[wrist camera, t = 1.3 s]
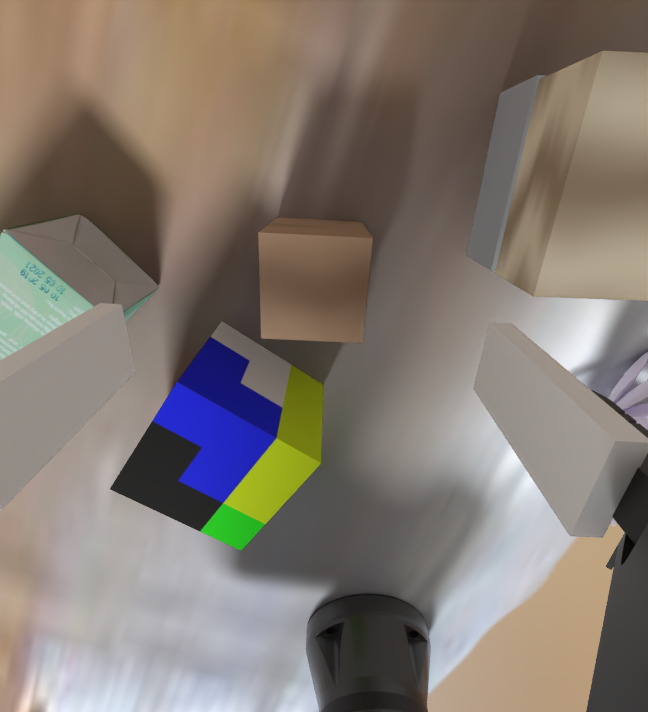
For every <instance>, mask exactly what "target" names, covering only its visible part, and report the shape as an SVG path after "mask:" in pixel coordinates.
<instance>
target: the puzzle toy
mask: <svg viewBox="0 0 648 712" xmlns="http://www.w3.org/2000/svg"><path fill="white" fill-rule="evenodd" d="M322 417H323V384H321V383H320V382H318V381H317V380H315V379H313V378H312V377H310V376H309V375H307V374H305V373H304V372H302V371H301V370H299V369H297V368H296V367H294V366H293V365H291V364H289V363H288V362H286V361H285V360H283V359H281V358H280V357H278V356H277V355H275V354H274V353H272V352H270V351H269V350H267V349H266V348H264V347H262V346H261V345H259V344H258V343H256V342H254V341H253V340H251V339H250V338H248V337H246V336H245V335H243V334H242V333H240V332H238V331H237V330H235V329H234V328H232V327H230V326H229V325H227V324H226V323H224V322H221V323H220V324H219V326H218V327H217V328H216V330H215V331H214V332H213V334H212V335H211V336H210V338H209V339H208V341H207V342H206V343H205V345H204V346H203V347H202V349H201V350H200V351H199V353H198V354H197V355H196V357H195V358H194V359H193V361H192V362H191V364H190V365H189V366H188V368H187V369H186V370H185V372H184V373H183V374H182V376H181V377H180V378H179V380H178V381H177V383H176V384H175V386H174V387H173V389H172V391H171V392H170V394H169V395H168V397H167V399H166V400H165V402H164V403H163V405H162V407H161V408H160V410H159V411H158V413H157V415H156V416H155V418H154V419H153V421H152V423H151V424H150V426H149V427H148V429H147V431H146V432H145V434H144V435H143V437H142V439H141V440H140V442H139V443H138V445H137V447H136V448H135V450H134V451H133V453H132V455H131V456H130V458H129V459H128V461H127V463H126V464H125V466H124V467H123V469H122V470H121V472H120V474H119V475H118V477H117V478H116V480H115V482H114V483H113V485H112V486H111V488H110V489H111V490H113V491H115V492H117V493H119V494H121V495H123V496H126V497H128V498H130V499H132V500H134V501H136V502H138V503H141V504H143V505H145V506H147V507H149V508H151V509H153V510H155V511H158V512H160V513H162V514H164V515H166V516H168V517H170V518H172V519H175V520H177V521H179V522H181V523H183V524H185V525H187V526H190V527H192V528H194V529H196V530H198V531H200V532H202V533H204V534H207V535H209V536H211V537H213V538H215V539H217V540H219V541H222V542H224V543H226V544H228V545H230V546H232V547H234V548H236V549H239V550H242V549H243V548H244V547H245V546H246V545H247V544H248V543H249V542H250V541H251V539H252V538H253V537H254V536H255V535H256V534H257V533H258V532H259V531H260V530H261V529H262V527H263V526H264V525H265V524H266V523H267V522H268V521H269V520H270V519H271V518H272V517H273V515H274V514H275V513H276V512H277V511H278V510H279V509H280V508H281V507H282V506H283V504H284V503H285V502H286V501H287V500H288V499H289V498H290V497H291V496H292V495H293V494H294V492H295V491H296V490H297V489H298V488H299V487H300V486H301V485H302V484H303V483H304V482H305V480H306V479H307V478H308V477H309V476H310V475H311V474H312V473H313V472H314V471H315V470H316V468H317V467H318V466H319V465H320V464H321V451H322Z"/></svg>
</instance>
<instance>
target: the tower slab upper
mask: <svg viewBox="0 0 648 712" xmlns="http://www.w3.org/2000/svg"><path fill="white" fill-rule="evenodd" d="M495 274H497V275H498V276H500V277H502V278H503V279H505V280H507V281H508V282H510V283H512V284H514V285H515V286H517V287H519V288H520V289H522V290H524V291H525V292H527V293H529V294H530V295H532V296H536V297H562V298H588V299H614V300H640V301H648V53H646V52H621V51H601V52H599V53H596V54H594V55H592V56H590V57H588V58H585V59H583V60H581V61H579V62H577V63H574V64H572V65H570V66H568V67H566V68H563V69H561V70H559V71H557V72H555V73H552V74H550V75H548V76H546V77H544V78H541V79H539V84H538V88H537V92H536V97H535V101H534V105H533V110H532V114H531V118H530V123H529V127H528V131H527V136H526V140H525V144H524V149H523V153H522V158H521V162H520V166H519V171H518V175H517V179H516V184H515V188H514V192H513V197H512V201H511V205H510V210H509V214H508V218H507V223H506V227H505V231H504V236H503V240H502V244H501V249H500V253H499V257H498V262H497V266H496V271H495Z"/></svg>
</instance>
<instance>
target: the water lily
mask: <svg viewBox="0 0 648 712" xmlns="http://www.w3.org/2000/svg"><path fill="white" fill-rule="evenodd" d="M647 360H648V351H647V352H646V353H645V354H644V355H643V356H641V357H640V358H639V359H638V360H637V361H636V362H635V363H634V364H633V365H632V366H631V367H630V368H629V369H628V370H627V371H626V373H625V374H624V375H623V376H622V378H621V379H620V380H619V382H618V383H617V384H616V386H615V387H614V389H613V390H612V392H611V394H610V396H609V397H608V399H610V400H611V401H613V402H614V403H615V404H616V405H617V406H619V407H620V408H621V409H622V410H624V411H625V414H628V415H630V416H631V417H632V418H633V419H635V420H636V423H638V424H641V425H642V426H643V427H644V428H646V429H647V430H648V403H645V404H641V405H637V406H633V407H630V406H632V405H634V404H635V403H637V402H639V401H641V400H643V399H645V398H647V397H648V380H647V381H645V382H643V383H642V384H640V385H638V386H636V387H635V388H633V389H632V390H630V391H629V392H627V393H626V394H624V395H623V396H622V394H623V393H624V392H625V391H626V390H627V389H628V388H629V387H630V386H631V385H632V383H633V382H634V380H635V379H636V377H637V376H638V374H639V372H640V371H641V370H642V368H643V367H644V365H645V363H646V362H647ZM621 396H622V397H621ZM620 397H621V398H620ZM619 398H620V399H619ZM627 407H630V408H627ZM611 523H612V525H613V526H615V524H616V521H615V520H614V518H613V519H612V521H611Z"/></svg>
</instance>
